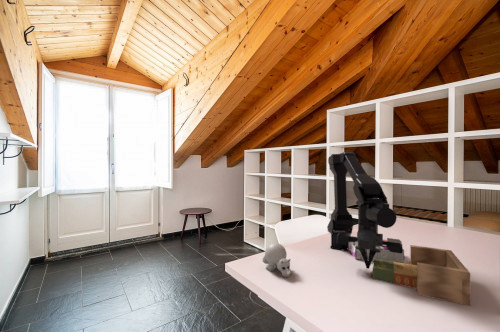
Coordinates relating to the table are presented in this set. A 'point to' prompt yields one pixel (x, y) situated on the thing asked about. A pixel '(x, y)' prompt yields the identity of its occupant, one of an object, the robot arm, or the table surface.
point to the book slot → (440, 274)
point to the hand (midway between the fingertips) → (367, 268)
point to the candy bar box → (378, 254)
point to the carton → (395, 272)
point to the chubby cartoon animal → (277, 258)
